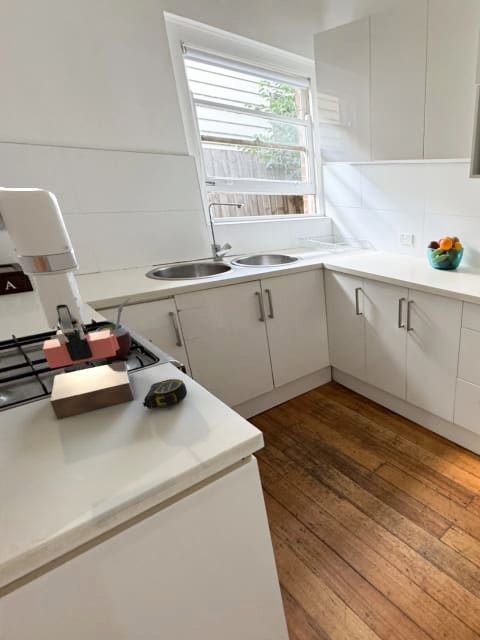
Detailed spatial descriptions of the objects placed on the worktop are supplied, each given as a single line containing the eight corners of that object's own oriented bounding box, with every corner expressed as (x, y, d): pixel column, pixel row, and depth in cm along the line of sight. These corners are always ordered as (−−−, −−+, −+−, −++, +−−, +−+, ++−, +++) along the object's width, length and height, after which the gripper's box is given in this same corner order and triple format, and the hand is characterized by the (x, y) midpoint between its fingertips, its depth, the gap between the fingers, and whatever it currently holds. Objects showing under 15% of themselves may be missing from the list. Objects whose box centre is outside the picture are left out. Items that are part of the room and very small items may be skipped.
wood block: (57, 419, 72) (49, 401, 70) (61, 392, 80) (54, 375, 79) (134, 399, 79) (128, 382, 77) (129, 376, 87) (125, 361, 86)
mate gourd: (94, 360, 94) (74, 302, 88) (126, 348, 101) (110, 294, 95) (115, 366, 92) (96, 307, 86) (146, 353, 98) (131, 297, 92)
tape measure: (155, 395, 80) (151, 380, 79) (191, 391, 82) (188, 375, 81) (145, 413, 74) (140, 396, 73) (184, 408, 76) (180, 392, 75)
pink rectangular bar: (50, 368, 71) (38, 339, 69) (52, 359, 75) (40, 331, 73) (120, 354, 78) (112, 327, 75) (119, 346, 81) (111, 320, 79)
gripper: (27, 256, 72) (60, 344, 80) (13, 275, 60) (54, 376, 67) (78, 253, 77) (105, 336, 84) (75, 269, 64) (107, 364, 72)
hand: (82, 353), depth 76 cm, fingers closed on pink rectangular bar, 4 cm apart
